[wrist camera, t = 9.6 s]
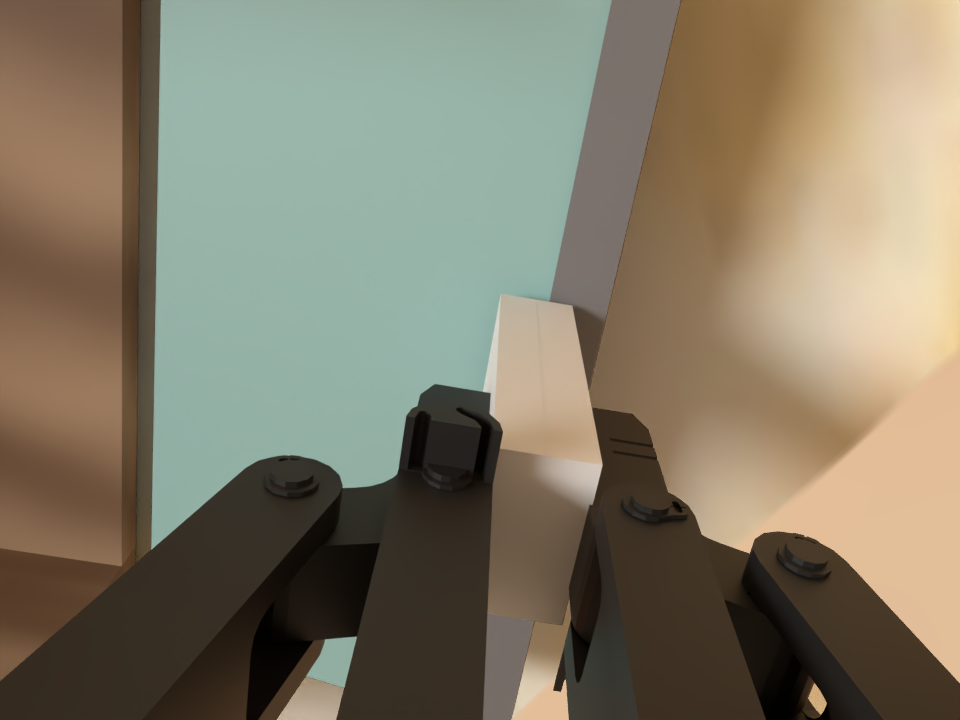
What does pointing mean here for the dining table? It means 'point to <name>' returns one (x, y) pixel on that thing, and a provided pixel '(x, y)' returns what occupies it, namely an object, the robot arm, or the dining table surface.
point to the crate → (66, 309)
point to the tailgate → (378, 224)
